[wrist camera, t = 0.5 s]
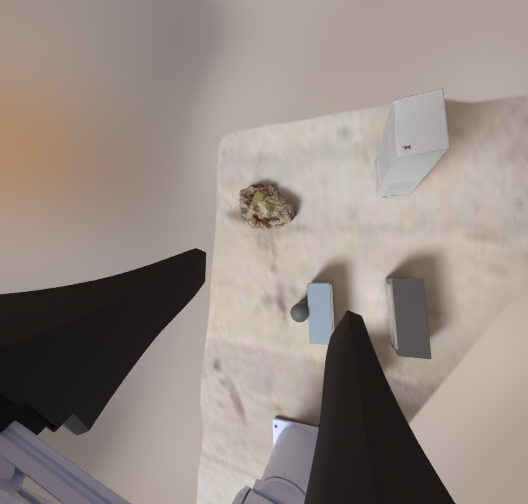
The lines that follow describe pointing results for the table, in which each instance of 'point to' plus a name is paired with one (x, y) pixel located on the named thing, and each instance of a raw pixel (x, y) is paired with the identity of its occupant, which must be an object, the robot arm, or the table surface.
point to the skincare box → (411, 143)
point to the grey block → (408, 317)
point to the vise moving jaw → (317, 312)
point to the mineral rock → (265, 207)
